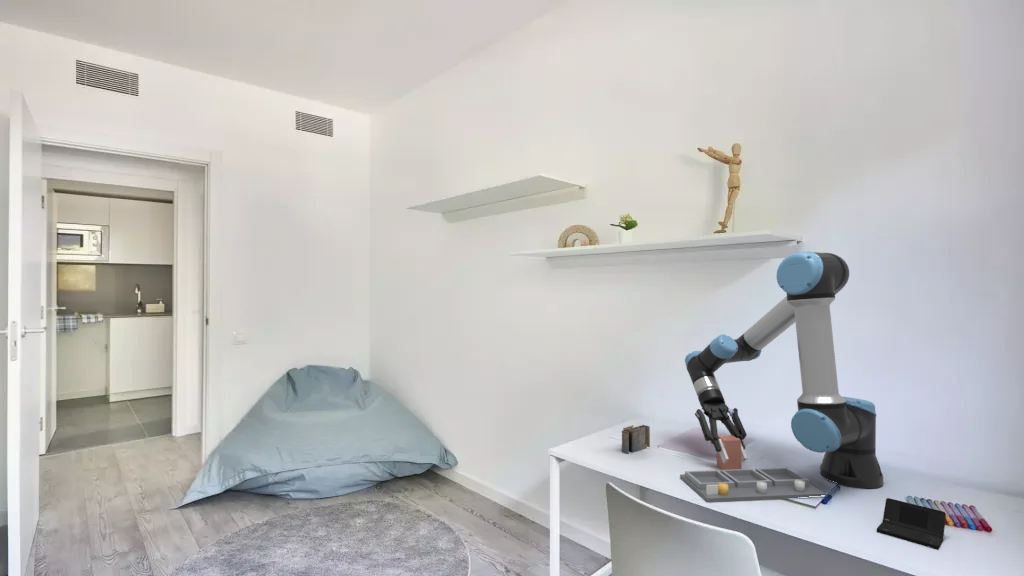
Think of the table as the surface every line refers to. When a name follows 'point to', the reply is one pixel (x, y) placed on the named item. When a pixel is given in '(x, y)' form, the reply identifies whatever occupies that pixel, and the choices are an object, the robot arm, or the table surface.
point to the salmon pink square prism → (730, 453)
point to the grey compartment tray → (749, 484)
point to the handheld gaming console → (913, 523)
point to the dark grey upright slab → (635, 438)
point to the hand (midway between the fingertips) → (735, 460)
